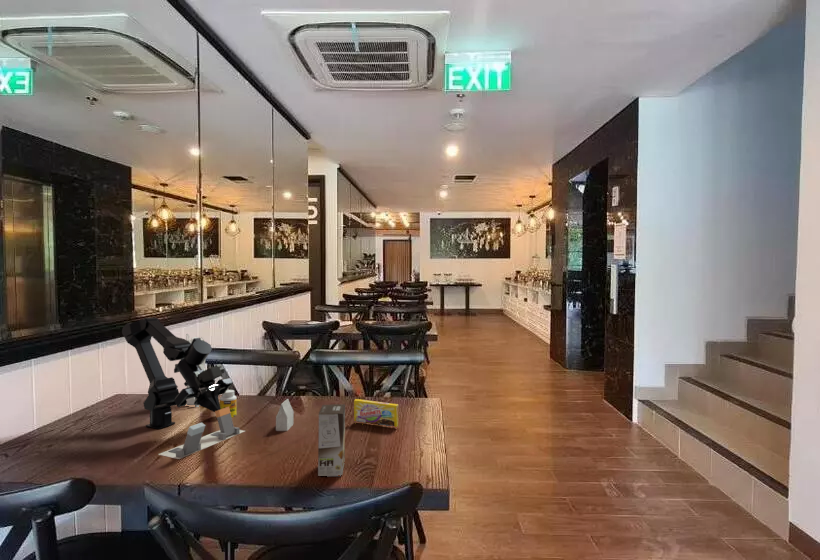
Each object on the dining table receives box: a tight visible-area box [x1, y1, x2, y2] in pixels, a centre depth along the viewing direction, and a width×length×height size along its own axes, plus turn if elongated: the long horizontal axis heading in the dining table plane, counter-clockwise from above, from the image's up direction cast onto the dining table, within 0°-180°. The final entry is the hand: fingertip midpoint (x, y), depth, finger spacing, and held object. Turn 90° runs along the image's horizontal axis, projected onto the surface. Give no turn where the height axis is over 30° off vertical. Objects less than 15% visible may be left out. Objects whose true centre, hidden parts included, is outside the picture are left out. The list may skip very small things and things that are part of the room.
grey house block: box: [275, 398, 295, 432], centre depth 152 cm, size 4×7×10 cm, turn 178°
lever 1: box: [182, 421, 207, 456], centre depth 128 cm, size 2×4×8 cm, turn 156°
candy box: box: [353, 398, 399, 427], centre depth 159 cm, size 16×2×8 cm, turn 68°
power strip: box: [158, 426, 246, 460], centre depth 138 cm, size 8×25×3 cm, turn 157°
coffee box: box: [317, 403, 346, 477], centre depth 122 cm, size 9×6×16 cm
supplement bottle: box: [219, 389, 238, 419], centre depth 164 cm, size 6×6×10 cm
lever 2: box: [214, 407, 235, 436], centre depth 143 cm, size 2×4×8 cm, turn 158°
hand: (219, 412), depth 144 cm, fingers closed
